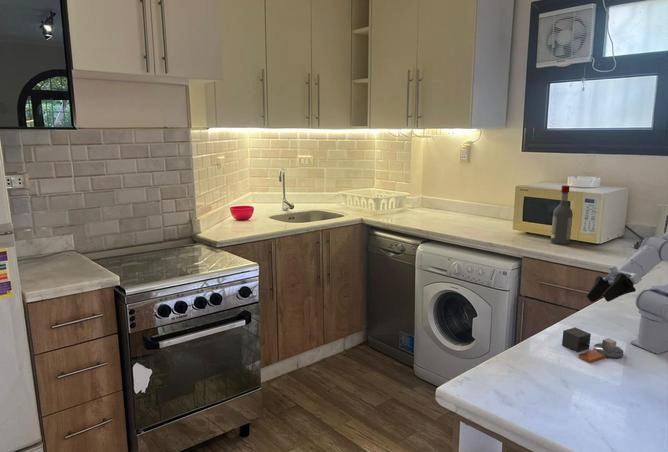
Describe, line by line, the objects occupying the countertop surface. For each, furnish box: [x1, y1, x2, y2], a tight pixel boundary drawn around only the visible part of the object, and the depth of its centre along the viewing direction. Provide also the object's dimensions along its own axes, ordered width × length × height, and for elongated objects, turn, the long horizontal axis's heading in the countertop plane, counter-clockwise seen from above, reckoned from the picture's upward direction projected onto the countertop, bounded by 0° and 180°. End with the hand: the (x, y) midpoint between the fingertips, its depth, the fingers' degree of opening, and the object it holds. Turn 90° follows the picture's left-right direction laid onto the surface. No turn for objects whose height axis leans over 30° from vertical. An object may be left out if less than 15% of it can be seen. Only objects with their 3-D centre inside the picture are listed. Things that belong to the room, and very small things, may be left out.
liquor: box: [550, 185, 574, 246], centre depth 257 cm, size 9×9×30 cm
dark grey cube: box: [561, 327, 592, 353], centre depth 140 cm, size 5×5×4 cm
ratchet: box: [577, 337, 624, 364], centre depth 135 cm, size 14×7×4 cm, turn 117°
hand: (597, 298), depth 131 cm, fingers open, 7 cm apart
